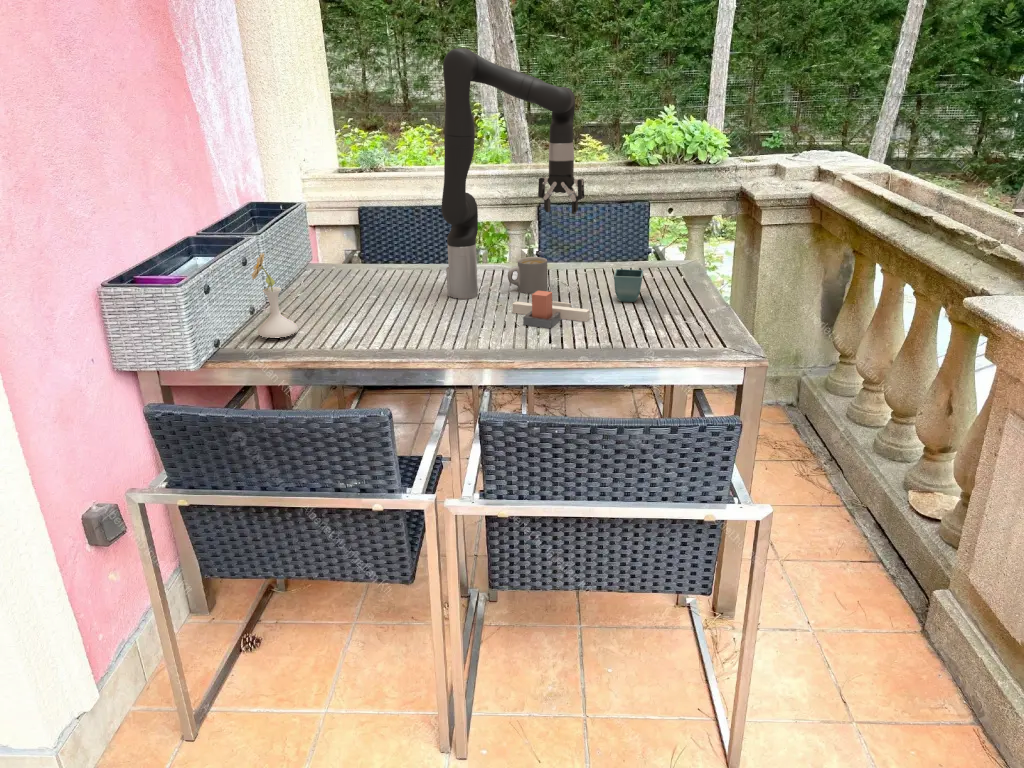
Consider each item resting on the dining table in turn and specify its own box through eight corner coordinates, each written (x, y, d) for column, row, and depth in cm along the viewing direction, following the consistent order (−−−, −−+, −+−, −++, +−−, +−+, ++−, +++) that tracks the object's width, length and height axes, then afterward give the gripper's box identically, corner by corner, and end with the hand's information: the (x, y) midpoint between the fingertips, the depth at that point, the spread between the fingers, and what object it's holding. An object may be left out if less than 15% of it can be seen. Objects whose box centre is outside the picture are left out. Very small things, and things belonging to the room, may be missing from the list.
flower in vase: (265, 329, 228) (252, 245, 218) (303, 329, 227) (292, 245, 218) (250, 344, 216) (236, 256, 206) (290, 344, 215) (278, 256, 206)
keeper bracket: (523, 325, 227) (523, 317, 226) (533, 317, 233) (533, 309, 232) (550, 328, 223) (550, 320, 222) (560, 320, 230) (560, 312, 229)
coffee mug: (546, 285, 266) (546, 256, 262) (548, 293, 257) (548, 263, 253) (507, 286, 266) (506, 257, 262) (508, 294, 257) (507, 264, 253)
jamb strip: (512, 313, 238) (512, 303, 236) (527, 303, 247) (526, 293, 246) (586, 321, 228) (586, 312, 227) (598, 311, 238) (598, 301, 237)
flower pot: (640, 304, 243) (642, 276, 240) (612, 303, 245) (613, 275, 241) (642, 296, 251) (643, 269, 248) (615, 295, 253) (615, 268, 249)
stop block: (532, 323, 228) (532, 294, 224) (538, 319, 231) (538, 290, 228) (546, 325, 226) (546, 296, 222) (552, 321, 230) (552, 292, 226)
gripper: (534, 159, 231) (535, 213, 238) (579, 160, 226) (578, 216, 232) (543, 156, 238) (544, 209, 244) (587, 157, 232) (586, 211, 239)
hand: (561, 212), depth 238 cm, fingers open, 8 cm apart
